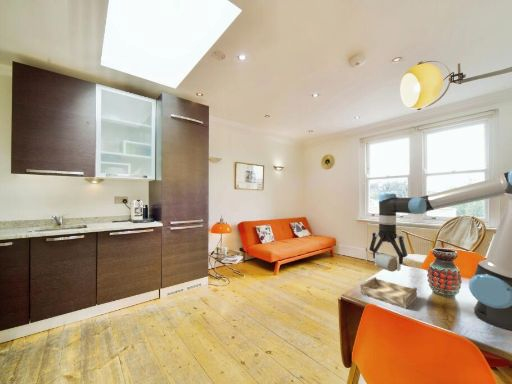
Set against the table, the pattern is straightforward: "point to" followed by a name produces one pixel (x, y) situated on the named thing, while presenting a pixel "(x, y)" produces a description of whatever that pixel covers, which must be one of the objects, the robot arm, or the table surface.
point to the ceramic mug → (386, 262)
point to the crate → (389, 292)
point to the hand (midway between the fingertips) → (387, 267)
